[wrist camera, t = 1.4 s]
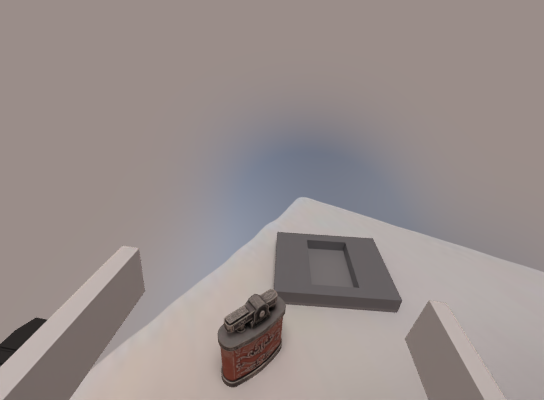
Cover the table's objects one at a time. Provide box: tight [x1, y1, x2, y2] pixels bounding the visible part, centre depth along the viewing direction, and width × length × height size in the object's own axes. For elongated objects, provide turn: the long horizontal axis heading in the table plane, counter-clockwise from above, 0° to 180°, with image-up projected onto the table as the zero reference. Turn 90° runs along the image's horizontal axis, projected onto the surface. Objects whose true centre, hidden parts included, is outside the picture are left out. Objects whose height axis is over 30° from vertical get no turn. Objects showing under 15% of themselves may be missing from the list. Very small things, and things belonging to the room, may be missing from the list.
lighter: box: [218, 289, 286, 387], centre depth 28 cm, size 8×3×10 cm, turn 129°
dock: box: [274, 232, 402, 312], centre depth 42 cm, size 18×14×2 cm
